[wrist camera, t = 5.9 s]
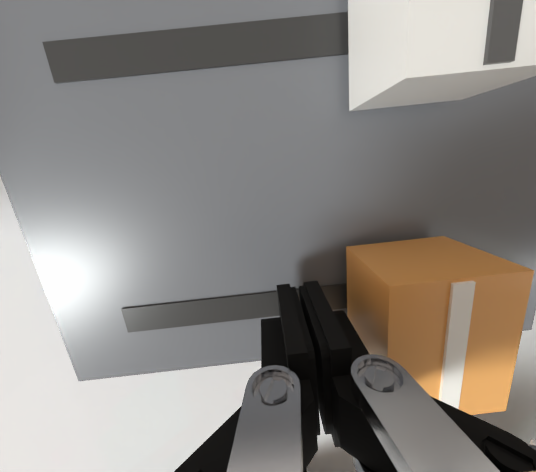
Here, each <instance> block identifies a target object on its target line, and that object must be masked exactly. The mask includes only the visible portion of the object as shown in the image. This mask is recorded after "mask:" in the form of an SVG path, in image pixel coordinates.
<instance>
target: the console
mask: <svg viewBox="0 0 536 472" xmlns="http://www.w3.org/2000/svg"><path fill="white" fill-rule="evenodd" d="M0 176H1V178H2V181H3V183H4V186H5V189H6V191H7V194H8V197H9V199H10V202H11V204H12V207H13V210H14V212H15V215H16V218H17V220H18V223H19V225H20V228H21V231H22V233H23V236H24V239H25V241H26V244H27V247H28V249H29V252H30V254H31V257H32V260H33V262H34V265H35V268H36V270H37V273H38V275H39V278H40V281H41V283H42V286H43V289H44V291H45V294H46V296H47V299H48V302H49V304H50V307H51V310H52V312H53V315H54V317H55V320H56V323H57V325H58V328H59V331H60V333H61V336H62V339H63V341H64V344H65V346H66V349H67V352H68V354H69V357H70V360H71V362H72V365H73V367H74V370H75V373H76V375H77V378H78V381H85V380H94V379H103V378H112V377H121V376H129V375H138V374H147V373H156V372H164V371H173V370H182V369H191V368H200V367H208V366H217V365H226V364H235V363H243V362H252V361H261V319H267V318H276V317H280V315H279V305H278V295H277V285H281V284H290V287H296V291H297V294H298V297H299V300H300V295H299V286H303V283H304V282H308V281H318V283H319V285H320V287H321V289H322V291H323V293H324V295H325V297H326V298H327V300H328V302H329V304H330V306H331V308H332V310H333V311H339V310H343V311H344V312H345V313H346V315H347V265H346V247H347V246H356V245H365V244H374V243H383V242H393V241H402V240H411V239H420V238H429V237H438V236H445V237H448V238H450V239H453V240H456V241H458V242H461V243H464V244H466V245H469V246H471V247H474V248H477V249H479V250H482V251H485V252H487V253H490V254H492V255H495V256H498V257H500V258H503V259H506V260H508V261H511V262H514V263H516V264H519V265H521V266H524V267H527V268H529V269H532V270H534V275H533V280H532V285H531V290H530V295H529V299H528V304H527V309H526V314H525V319H524V324H523V329H522V331H524V330H531V329H532V324H533V320H534V315H535V310H536V76H534V77H531V78H528V79H525V80H522V81H518V82H515V83H512V84H509V85H506V86H503V87H500V88H497V89H494V90H490V91H487V92H484V93H481V94H478V95H475V96H472V97H469V98H465V99H462V100H454V101H445V102H435V103H425V104H416V105H406V106H396V107H386V108H377V109H367V110H357V111H349V46H348V0H0Z"/></svg>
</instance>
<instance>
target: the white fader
mask: <svg viewBox="0 0 536 472" xmlns="http://www.w3.org/2000/svg"><path fill="white" fill-rule="evenodd" d="M348 46H349V111H357V110H367V109H377V108H386V107H396V106H406V105H416V104H425V103H435V102H445V101H454V100H462V99H465V98H469V97H472V96H475V95H478V94H481V93H484V92H487V91H490V90H494V89H497V88H500V87H503V86H506V85H509V84H512V83H515V82H518V81H522V80H525V79H528V78H531V77H534V76H536V0H348Z"/></svg>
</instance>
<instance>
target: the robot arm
mask: <svg viewBox="0 0 536 472" xmlns="http://www.w3.org/2000/svg"><path fill="white" fill-rule="evenodd" d="M277 295H278V305H279V315H280V317H276V318H267V319H261V364H262V368H261V369H259V370H258V371H256V372H255V373H254V374H253V375H252V376H251V377H250V378H249V380H248V383H247V385H246V389H245V394H244V398H243V402H242V406H241V407H240V408H239V409H238V410H237V411H236V412H235V413H234V414H233V415H232V416H231V417H230V418H229V419H228V420H227V421H226V422H225V423H224V424H223V425H222V426H221V427H220V428H219V429H218V430H216V431H215V432H214V433H213V434H212V435H211V436H210V437H209V438H208V439H207V440H206V441H205V442H204V443H203V444H202V445H201V446H200V447H199V448H198V449H197V450H196V451H195V452H194V453H193V454H192V455H191V456H190V457H189V458H188V459H187V460H186V461H185V462H184V463H183V464H182V465H180V466H179V467H178V468H177V469H176V470H175V472H308V470H307V466H308V464H309V463H310V461H311V460H312V458H313V457H314V455H315V453H316V452H317V450H318V445H317V435H320V422H319V412H320V416H321V420H322V424H323V428H324V432H325V434H332V438H333V441H334V445H335V447H341V448H342V449H344V450H345V451H346V452H348V453H349V454H350V455H352V456H353V463H354V466H355V469H356V471H357V472H536V440H534V439H531V441H530V445H529V444H526V443H525V442H524V441H522V440H521V439H519V438H517V437H516V436H514V435H512V434H510V433H508V432H506V431H504V430H502V429H500V428H498V427H496V426H493V425H491V424H489V423H487V422H485V421H483V420H481V419H478V418H476V417H474V416H472V415H470V414H468V413H466V412H463V411H461V410H459V409H457V408H455V407H453V406H451V405H448V404H446V403H444V402H442V401H440V400H438V399H436V398H433V397H431V396H429V394H428V393H427V392H426V391H425V390H424V389H423V388H422V387H421V386H420V385H419V384H418V383H417V382H416V380H415V379H414V378H413V377H412V376H411V375H410V374H409V373H408V372H407V371H406V370H405V369H404V368H403V367H402V366H401V365H400V364H399V363H397V362H396V361H394V360H392V359H390V358H388V357H385V356H382V355H375V354H369V352H368V350H367V349H366V347H365V345H364V344H363V342H362V340H361V339H360V337H359V335H358V333H357V332H356V330H355V328H354V327H353V325H352V323H351V322H350V320H349V318H348V316H347V315H346V313H345V312H344V311H343V310H339V311H333V310H332V308H331V306H330V304H329V302H328V300H327V298H326V297H325V295H324V293H323V291H322V289H321V287H320V285H319V283H318V281H308V282H304V283H303V286H299V295H300V300H299V297H298V294H297V291H296V287H290V284H281V285H277Z"/></svg>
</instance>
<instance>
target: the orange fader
mask: <svg viewBox="0 0 536 472" xmlns="http://www.w3.org/2000/svg"><path fill="white" fill-rule="evenodd" d="M346 265H347V316H348V318H349V320H350V322H351V323H352V325H353V327H354V328H355V330H356V332H357V333H358V335H359V337H360V339H361V340H362V342H363V344H364V345H365V347H366V349H367V350H368V352H369V354H375V355H382V356H385V357H388V358H390V359H392V360H394V361H396V362H397V363H399V364H400V365H401V366H402V367H403V368H404V369H405V370H406V371H407V372H408V373H409V374H410V375H411V376H412V377H413V378H414V379H415V380H416V382H417V383H418V384H419V385H420V386H421V387H422V388H423V389H424V390H425V391H426V392H427V393H428V394H429V396H431V397H433V398H436V399H438V400H440V401H442V402H444V403H446V404H448V405H451V406H453V407H455V408H457V409H459V410H461V411H463V412H466V413H468V414H470V415H476V414H484V413H493V412H501V411H506V408H507V403H508V398H509V393H510V388H511V383H512V378H513V373H514V368H515V364H516V359H517V354H518V349H519V344H520V339H521V334H522V329H523V324H524V319H525V314H526V309H527V304H528V299H529V295H530V290H531V285H532V280H533V275H534V270H532V269H529V268H527V267H524V266H521V265H519V264H516V263H514V262H511V261H508V260H506V259H503V258H500V257H498V256H495V255H492V254H490V253H487V252H485V251H482V250H479V249H477V248H474V247H471V246H469V245H466V244H464V243H461V242H458V241H456V240H453V239H450V238H448V237H445V236H438V237H429V238H420V239H411V240H402V241H393V242H383V243H374V244H365V245H356V246H347V247H346Z"/></svg>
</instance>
